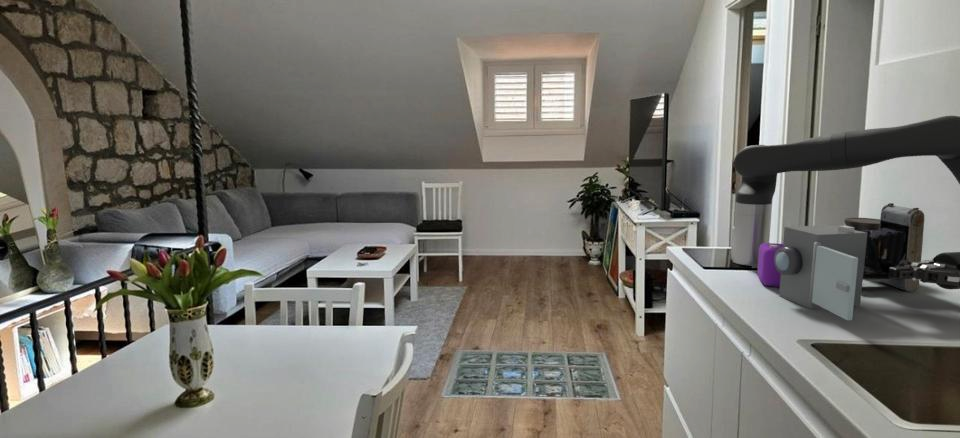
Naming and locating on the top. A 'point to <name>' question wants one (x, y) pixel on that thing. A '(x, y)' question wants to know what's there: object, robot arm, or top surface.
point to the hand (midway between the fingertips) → (891, 273)
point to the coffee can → (863, 223)
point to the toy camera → (768, 264)
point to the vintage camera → (894, 244)
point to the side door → (833, 281)
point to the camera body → (799, 258)
